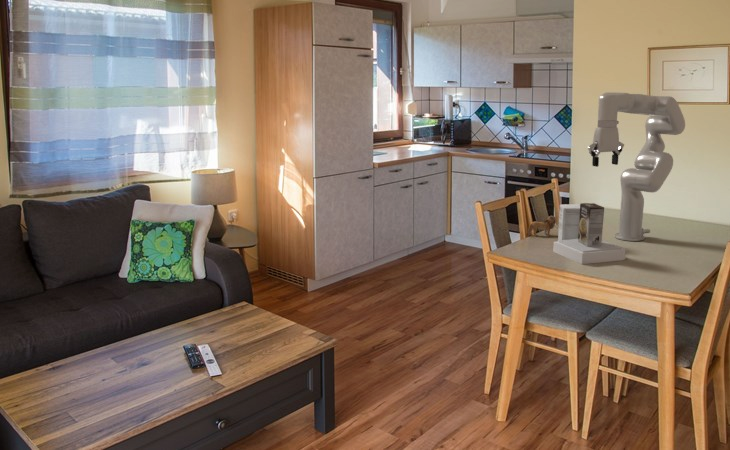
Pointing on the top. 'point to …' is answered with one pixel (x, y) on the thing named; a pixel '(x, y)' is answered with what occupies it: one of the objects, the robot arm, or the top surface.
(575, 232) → the supplement box
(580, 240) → the coffee box
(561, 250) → the square tray
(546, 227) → the lion figurine
